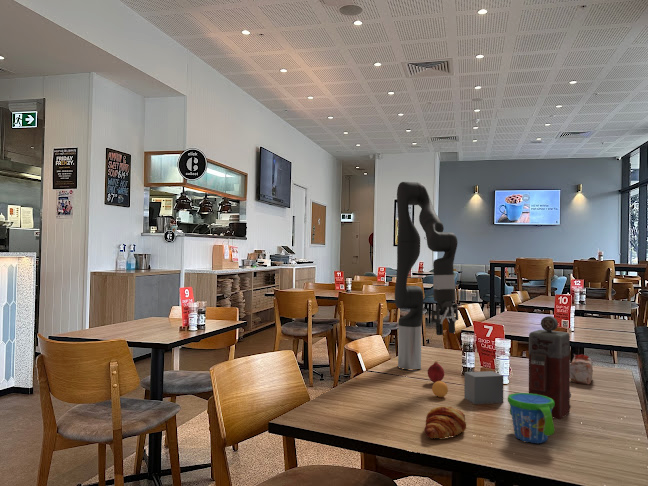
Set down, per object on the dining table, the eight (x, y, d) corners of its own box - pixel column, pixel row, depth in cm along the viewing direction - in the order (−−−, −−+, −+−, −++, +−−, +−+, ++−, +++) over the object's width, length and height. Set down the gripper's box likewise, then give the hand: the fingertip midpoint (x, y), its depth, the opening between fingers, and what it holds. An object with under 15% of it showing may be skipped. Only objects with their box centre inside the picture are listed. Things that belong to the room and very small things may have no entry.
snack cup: (497, 428, 132) (497, 389, 132) (536, 428, 133) (536, 389, 133) (524, 451, 117) (524, 407, 117) (568, 451, 117) (568, 407, 117)
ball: (429, 395, 163) (429, 379, 164) (443, 394, 165) (443, 379, 165) (436, 399, 159) (436, 383, 159) (450, 398, 160) (450, 382, 160)
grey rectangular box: (464, 398, 160) (464, 372, 161) (492, 396, 162) (492, 371, 163) (474, 404, 154) (474, 376, 154) (503, 402, 156) (503, 375, 156)
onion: (445, 386, 175) (446, 363, 176) (429, 385, 176) (429, 362, 176) (442, 381, 181) (442, 359, 182) (426, 381, 181) (426, 359, 182)
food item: (592, 386, 178) (592, 358, 179) (567, 383, 182) (567, 356, 183) (593, 378, 190) (593, 352, 191) (569, 375, 194) (569, 350, 194)
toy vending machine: (525, 414, 145) (525, 316, 146) (538, 405, 153) (538, 313, 154) (558, 421, 139) (558, 319, 140) (569, 412, 147) (569, 316, 148)
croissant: (451, 431, 140) (439, 403, 142) (483, 421, 135) (470, 392, 137) (418, 453, 123) (405, 421, 125) (453, 442, 118) (439, 408, 120)
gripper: (444, 287, 186) (446, 332, 185) (424, 288, 176) (425, 335, 174) (463, 287, 181) (465, 333, 180) (443, 288, 171) (445, 336, 169)
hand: (445, 334), depth 177 cm, fingers open, 8 cm apart
